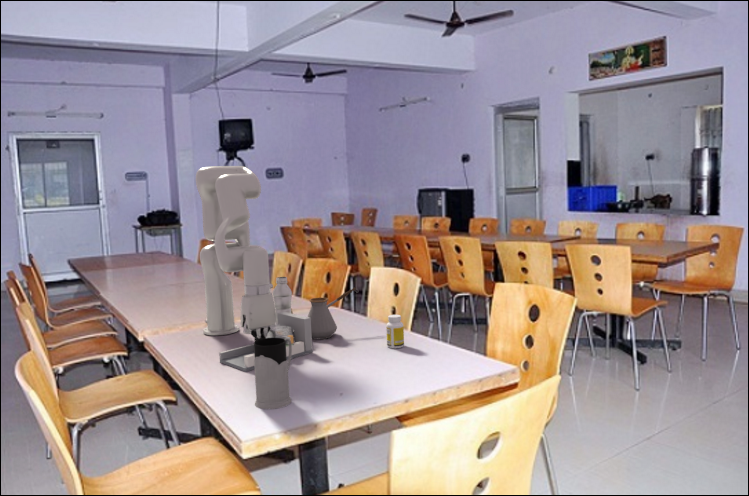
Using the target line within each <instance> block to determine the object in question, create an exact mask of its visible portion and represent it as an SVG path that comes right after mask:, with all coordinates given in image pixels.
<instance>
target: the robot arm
mask: <svg viewBox="0 0 749 496" xmlns="http://www.w3.org/2000/svg"><path fill="white" fill-rule="evenodd" d="M195 185H196V190H197V191H198V194H199V197H200V199H201V205H202V208H201V209H202V210H201V211H202V212H201V213H202V230H203V231H202V232H203V235H204V238H205V239H206V240H208V241H210V242H211V241H213V242H214V243H213V244H209V245H205V246H204V247H202V248H201V250H200V252H199V262H200V266H201V271H202V274H203V284H204V298H205V311H206V319H205V320H204V323H205V324H207V325H206V327H204V328H203V329H202V331H203V334H204V335H206V336H223V335H231V334H235V333H236V332H238V331H240V327H241V328H242V331H243V332H242V333H243V334H245V335H251V336H252V338H254V342H255V341H257V340H260V339H264V338H266V337H267V335H268V332H269V331H270V329H272V328H274V327H275V322H276V311H275V303H274V298H273V292H271V289H274V288H273V287H274V285H273V283H270V268H269V267H270V264H269V252H268V251H267V249H265V248H262V247H261V246H260V245H251V240H250V239H251V237H250V235H251V234H250V224H249V220H250V218H251V214H250V209H249V206H248V203H247V200H256V199H258V198H259V197H260V195H261V193H262V192H261V191H262V184H261V182H260V180H259V178H258V176H257V175H256V174H255V173H254V172H253V171H252V170H251V169H249V168H248V167H246V166H243V165H221V166H219V165H217V166H213V165H212V166H205V167H201V168H199V169H198V170H197V171H196V174H195ZM230 240H232V241H233V240H234V241H235V242H226V241H230ZM237 272H243V284H244V285H243V289H244V295H242V297H241V302H240V326H239V325H237V324H235V312H234V309H235V307H234V295H233V292H234V291H233V283H232V279H230V277H229V276H228V275H227V274H226V273H237Z"/></svg>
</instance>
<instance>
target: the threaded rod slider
mask: <svg viewBox="0 0 749 496" xmlns="http://www.w3.org/2000/svg"><path fill="white" fill-rule="evenodd" d="M289 335H292V336H293V337H294V331H293V332H292V328H291V327H288V326H284V325H280V324H276V325H275V327H274V328H272V329H270V331H269V332H268V335H267V337H266V338H283V339H285V338H288V339H290V337H288V336H289ZM286 344H289V343H288V340H286Z"/></svg>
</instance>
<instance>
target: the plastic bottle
mask: <svg viewBox="0 0 749 496" xmlns="http://www.w3.org/2000/svg"><path fill="white" fill-rule="evenodd" d="M275 284H276V286H274V288H273V290H272V296H273V299H274V304H275V311H276V322H275V325H276V324H278V315H277V313H280V312H287V313H291V308H292V296H293V295H292V293H293V292H292V289H291V288H290V286H289V285H288V277H287V276H277V277H276V278H275ZM293 332H294V329H293Z"/></svg>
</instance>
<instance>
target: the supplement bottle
mask: <svg viewBox="0 0 749 496" xmlns="http://www.w3.org/2000/svg"><path fill="white" fill-rule="evenodd" d="M387 318H388V322H387V323H386V325H385V326H386V329H385V331H386V345H387V348H389V349H401V348H403V347H404V346H405V330H404V327H405V326H404V323H403V322H402V316H401V315H400V314H390V315H388V316H387Z"/></svg>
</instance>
